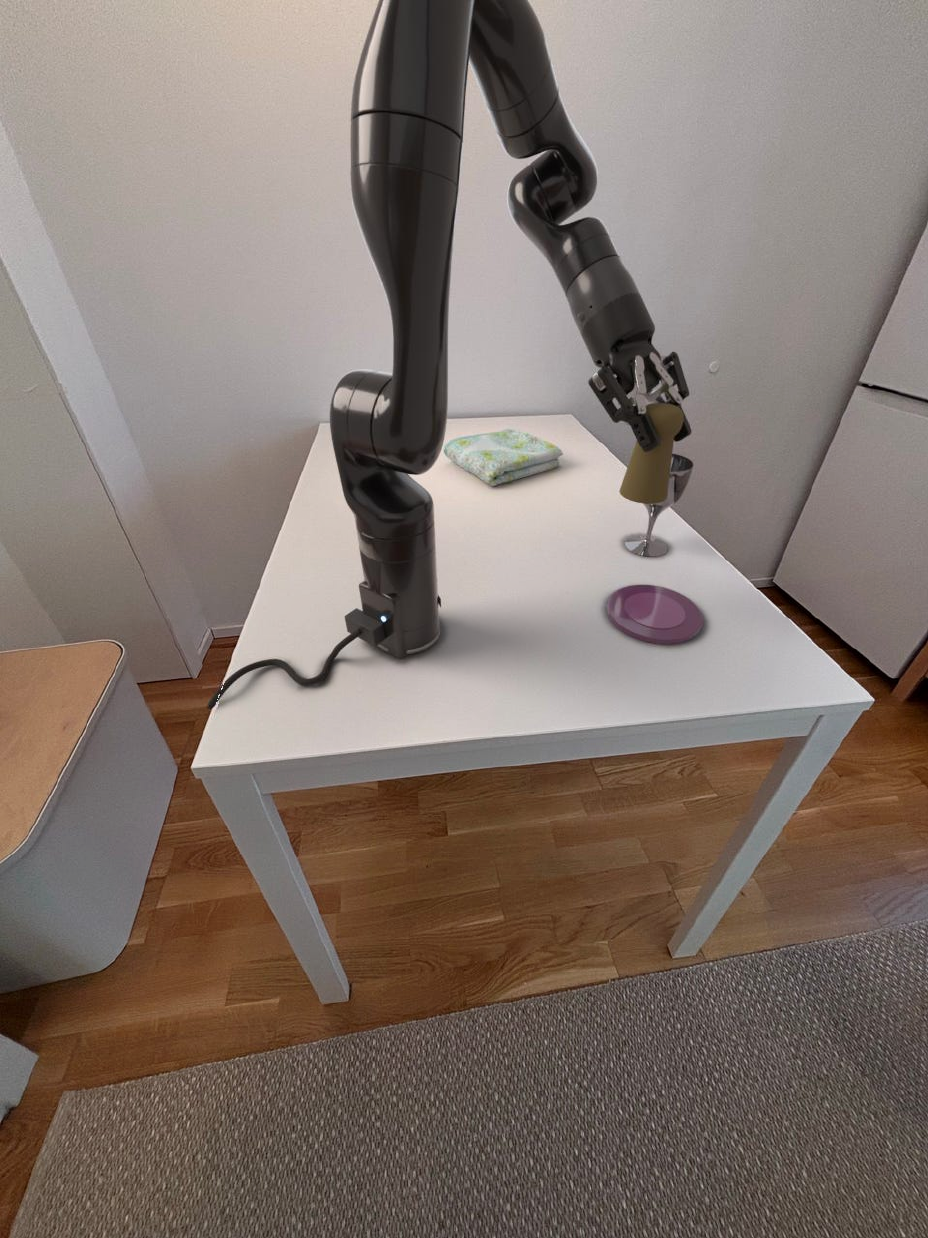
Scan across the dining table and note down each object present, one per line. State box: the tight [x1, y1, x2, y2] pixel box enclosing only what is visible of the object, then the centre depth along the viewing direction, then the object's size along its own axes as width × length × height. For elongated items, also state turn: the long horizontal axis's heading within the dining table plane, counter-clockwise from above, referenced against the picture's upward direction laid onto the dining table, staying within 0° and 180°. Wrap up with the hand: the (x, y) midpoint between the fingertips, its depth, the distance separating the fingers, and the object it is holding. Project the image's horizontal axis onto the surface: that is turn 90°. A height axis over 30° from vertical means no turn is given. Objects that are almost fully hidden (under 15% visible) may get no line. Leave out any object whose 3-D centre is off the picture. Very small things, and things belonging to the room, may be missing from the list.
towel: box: [443, 428, 564, 487], centre depth 116 cm, size 18×21×5 cm
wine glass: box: [624, 453, 694, 558], centre depth 85 cm, size 8×8×15 cm
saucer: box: [606, 584, 704, 645], centre depth 74 cm, size 13×13×1 cm
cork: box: [619, 402, 683, 505], centre depth 64 cm, size 6×6×11 cm
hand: (668, 442), depth 61 cm, fingers closed on cork, 5 cm apart
